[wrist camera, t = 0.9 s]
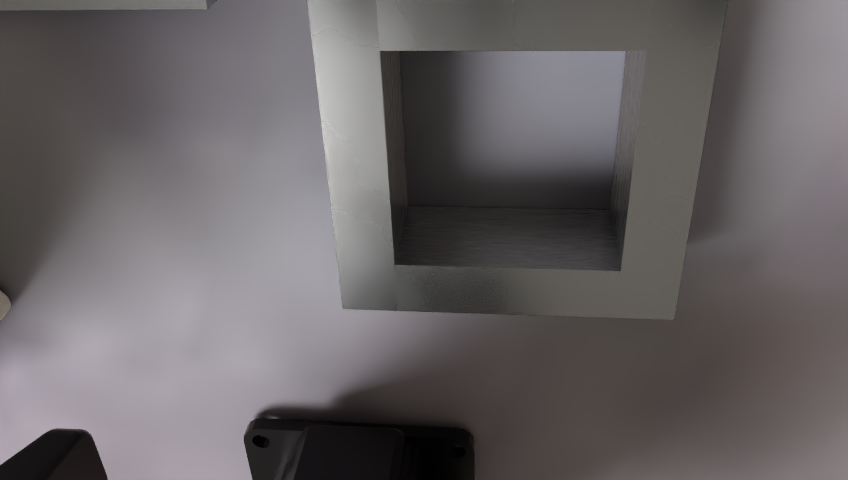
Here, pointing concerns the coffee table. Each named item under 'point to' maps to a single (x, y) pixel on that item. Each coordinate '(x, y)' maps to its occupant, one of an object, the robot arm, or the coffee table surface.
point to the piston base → (104, 4)
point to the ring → (515, 227)
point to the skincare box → (4, 305)
